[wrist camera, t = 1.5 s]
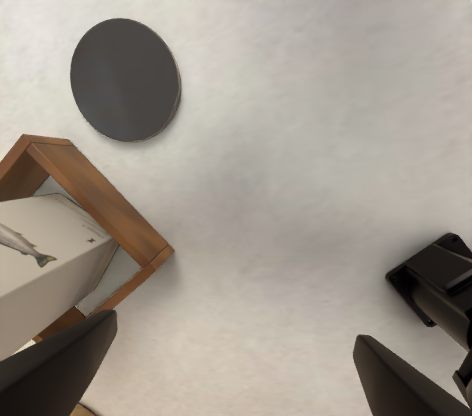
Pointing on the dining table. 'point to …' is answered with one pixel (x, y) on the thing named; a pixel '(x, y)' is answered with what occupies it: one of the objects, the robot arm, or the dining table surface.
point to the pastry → (81, 411)
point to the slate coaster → (125, 80)
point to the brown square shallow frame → (92, 200)
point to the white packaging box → (45, 264)
